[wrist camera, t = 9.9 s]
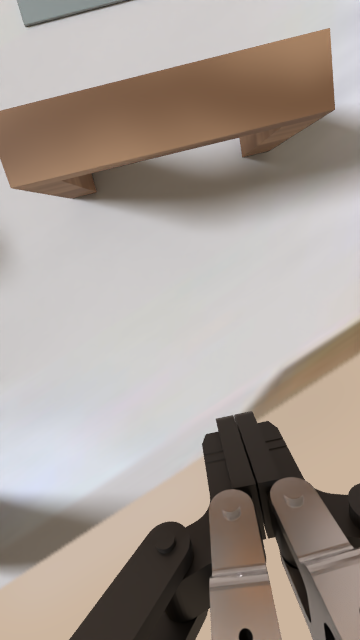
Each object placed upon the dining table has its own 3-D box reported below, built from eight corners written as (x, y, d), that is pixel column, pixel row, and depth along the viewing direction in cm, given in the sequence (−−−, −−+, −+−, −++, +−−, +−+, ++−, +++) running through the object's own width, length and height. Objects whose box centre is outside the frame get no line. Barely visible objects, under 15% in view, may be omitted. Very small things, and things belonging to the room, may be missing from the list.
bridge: (269, 150, 24) (334, 109, 14) (70, 198, 24) (11, 188, 15) (263, 104, 23) (329, 28, 13) (57, 154, 23) (-16, 114, 14)
